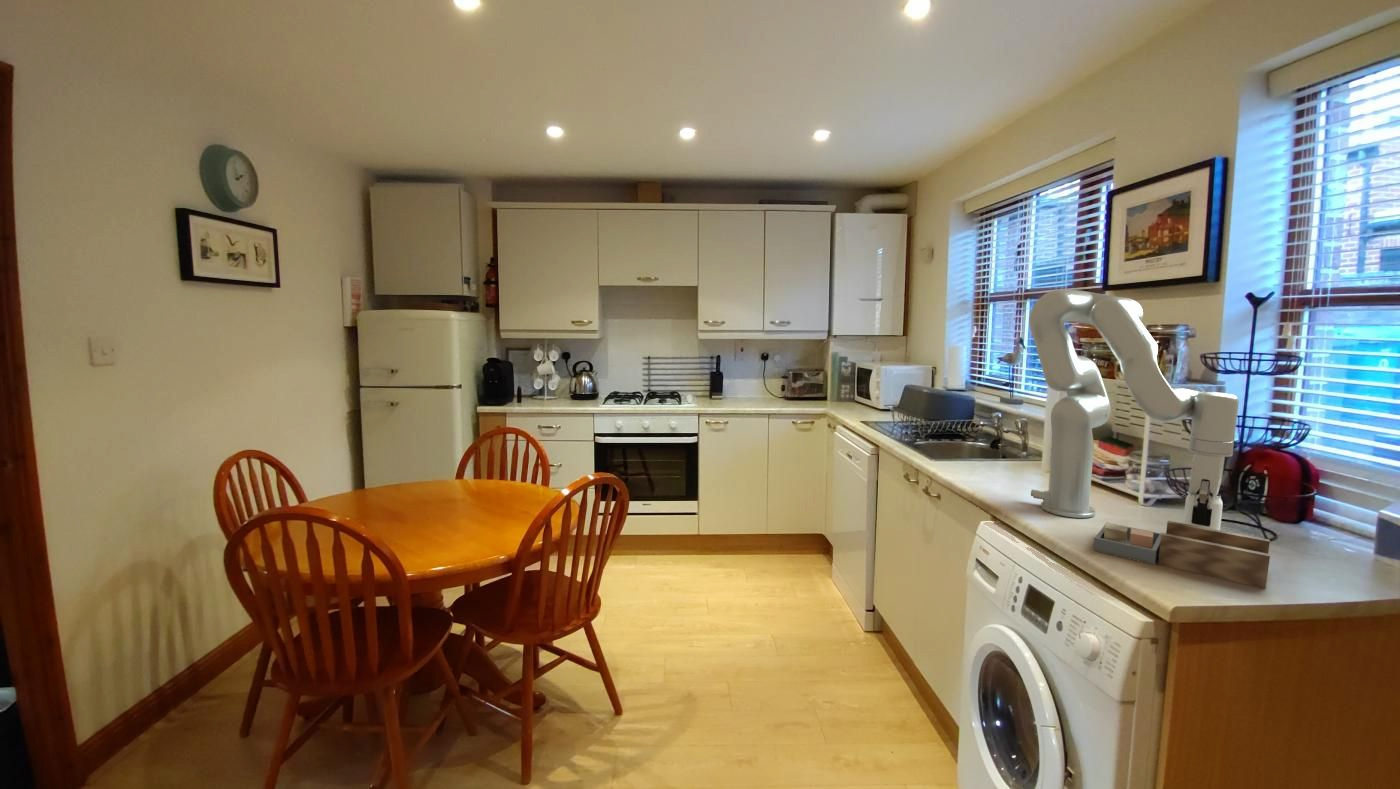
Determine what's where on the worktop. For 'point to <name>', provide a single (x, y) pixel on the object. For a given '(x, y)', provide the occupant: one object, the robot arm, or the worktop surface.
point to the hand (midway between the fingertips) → (1202, 519)
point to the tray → (1128, 547)
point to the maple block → (1116, 533)
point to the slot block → (1215, 553)
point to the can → (1215, 516)
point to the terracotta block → (1141, 538)
